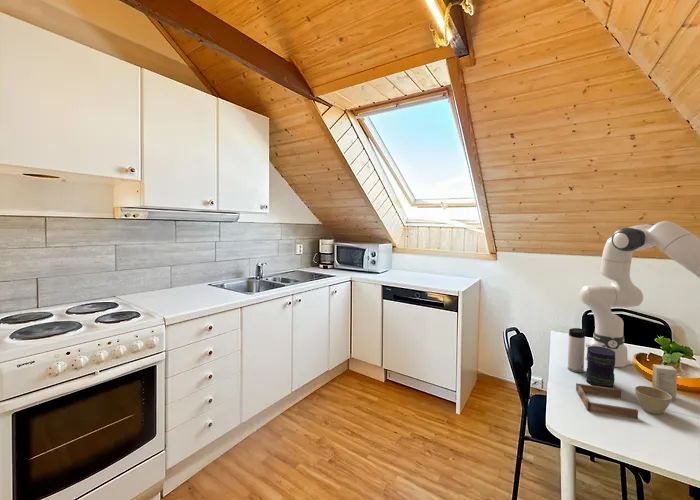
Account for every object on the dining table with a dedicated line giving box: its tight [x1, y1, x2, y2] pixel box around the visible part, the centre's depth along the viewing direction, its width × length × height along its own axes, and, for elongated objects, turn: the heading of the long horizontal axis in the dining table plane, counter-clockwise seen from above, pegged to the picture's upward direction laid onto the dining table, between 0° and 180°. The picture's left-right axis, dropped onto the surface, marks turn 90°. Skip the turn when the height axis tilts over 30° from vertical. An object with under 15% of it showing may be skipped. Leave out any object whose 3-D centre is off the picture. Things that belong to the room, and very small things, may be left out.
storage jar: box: [585, 345, 616, 389], centre depth 141 cm, size 10×10×18 cm
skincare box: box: [651, 364, 678, 401], centre depth 130 cm, size 6×4×12 cm
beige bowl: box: [634, 385, 673, 415], centre depth 121 cm, size 10×10×7 cm
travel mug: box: [567, 327, 587, 373], centre depth 155 cm, size 6×7×20 cm
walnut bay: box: [575, 382, 639, 420], centre depth 127 cm, size 16×15×3 cm
